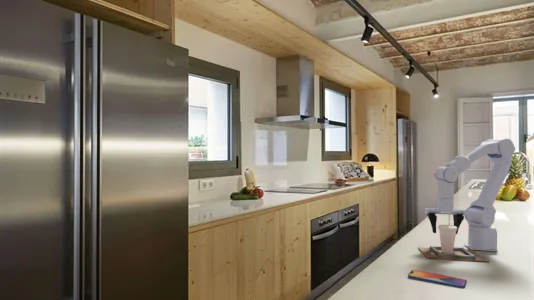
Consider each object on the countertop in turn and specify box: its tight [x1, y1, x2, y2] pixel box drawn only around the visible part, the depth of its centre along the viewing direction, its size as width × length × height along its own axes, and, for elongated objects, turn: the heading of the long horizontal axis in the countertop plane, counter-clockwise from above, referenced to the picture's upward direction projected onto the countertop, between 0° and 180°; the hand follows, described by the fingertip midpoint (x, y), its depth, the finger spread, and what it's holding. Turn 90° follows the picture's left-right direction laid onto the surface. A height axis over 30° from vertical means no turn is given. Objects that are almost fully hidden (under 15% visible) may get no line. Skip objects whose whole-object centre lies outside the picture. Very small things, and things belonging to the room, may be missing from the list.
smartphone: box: [407, 269, 467, 289], centre depth 111 cm, size 7×15×1 cm, turn 58°
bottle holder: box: [417, 245, 490, 263], centre depth 138 cm, size 20×14×2 cm
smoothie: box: [437, 214, 457, 254], centre depth 139 cm, size 6×6×14 cm
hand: (444, 233), depth 146 cm, fingers open, 7 cm apart
